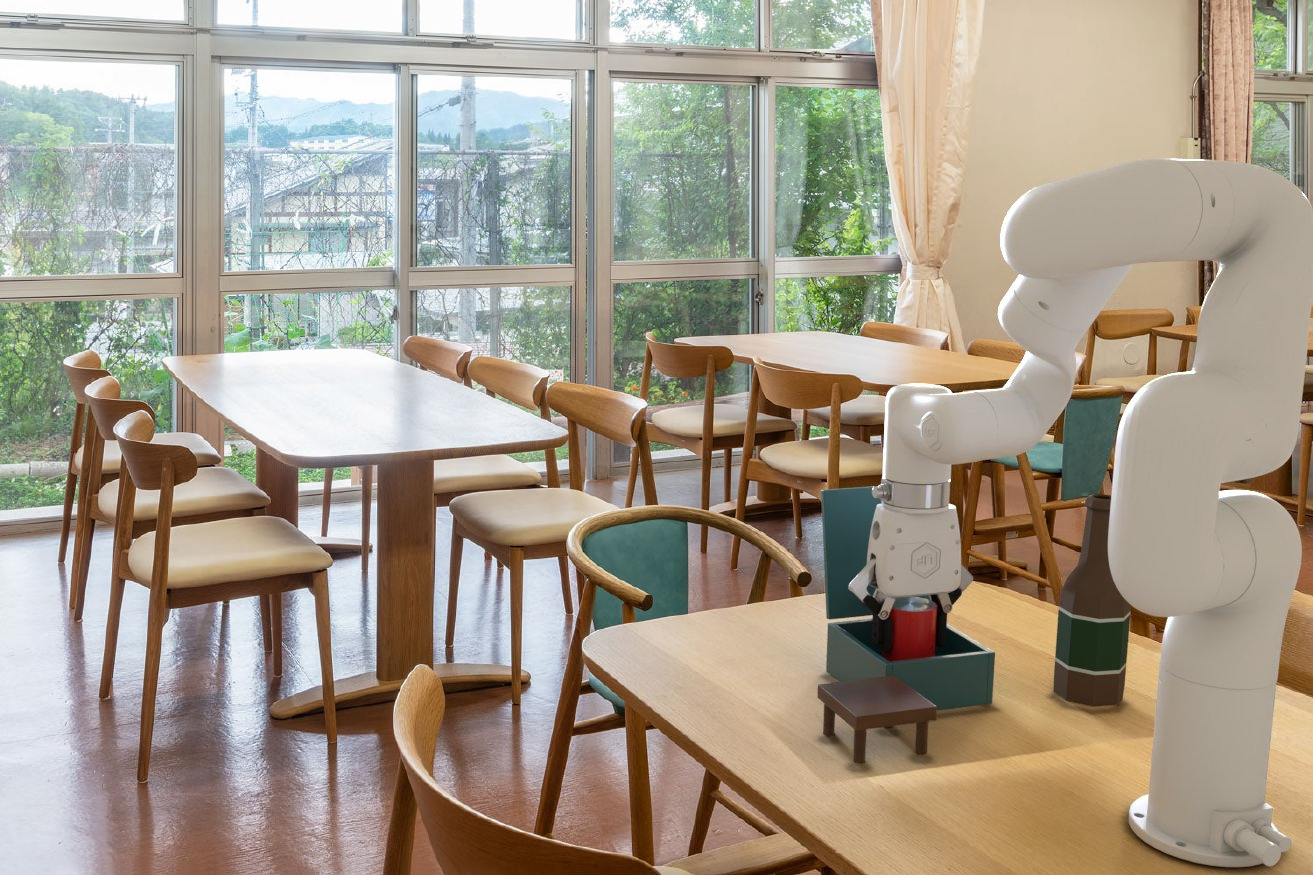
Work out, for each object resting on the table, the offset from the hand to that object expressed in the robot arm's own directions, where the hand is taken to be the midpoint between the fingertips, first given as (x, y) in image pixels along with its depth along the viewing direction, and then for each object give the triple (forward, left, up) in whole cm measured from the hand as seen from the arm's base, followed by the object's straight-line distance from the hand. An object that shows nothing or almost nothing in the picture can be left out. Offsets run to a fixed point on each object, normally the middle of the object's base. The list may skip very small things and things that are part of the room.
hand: (908, 644), depth 146 cm
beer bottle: (-8, -19, -6) cm, 21 cm away
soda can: (0, 0, -5) cm, 5 cm away
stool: (-13, +11, -6) cm, 18 cm away
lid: (+8, 0, +9) cm, 12 cm away
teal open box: (0, 0, -6) cm, 6 cm away
